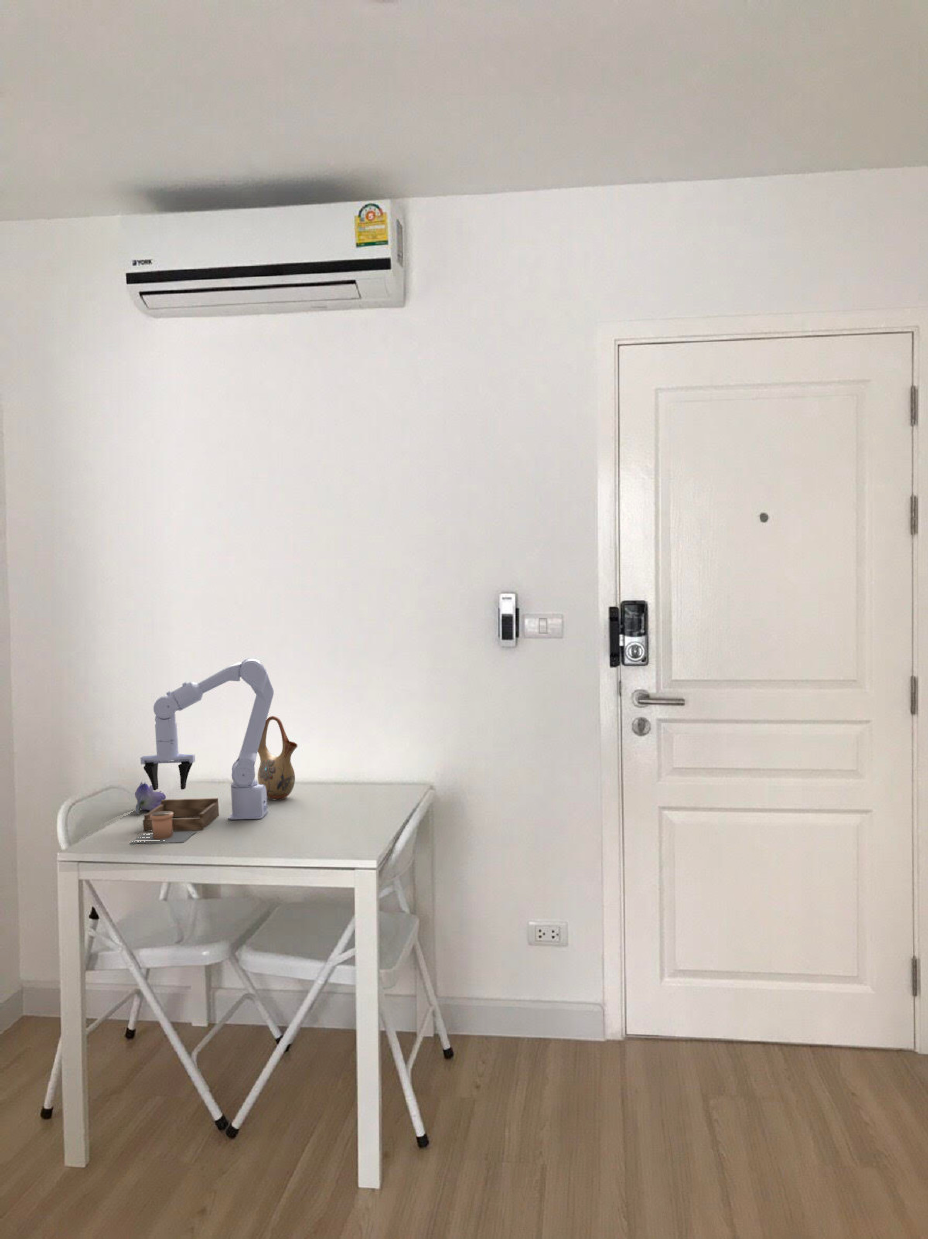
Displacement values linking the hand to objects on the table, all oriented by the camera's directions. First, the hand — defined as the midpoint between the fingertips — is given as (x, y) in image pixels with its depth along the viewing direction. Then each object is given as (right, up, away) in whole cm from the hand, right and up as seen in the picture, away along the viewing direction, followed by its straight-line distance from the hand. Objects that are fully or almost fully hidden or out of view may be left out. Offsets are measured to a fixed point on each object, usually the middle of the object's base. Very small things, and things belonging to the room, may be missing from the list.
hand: (169, 789), depth 277 cm
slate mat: (+3, -10, -15) cm, 19 cm away
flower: (-11, -9, +15) cm, 20 cm away
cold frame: (+4, -9, 0) cm, 10 cm away
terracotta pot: (+3, -10, -15) cm, 18 cm away
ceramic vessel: (+25, -7, +26) cm, 36 cm away
